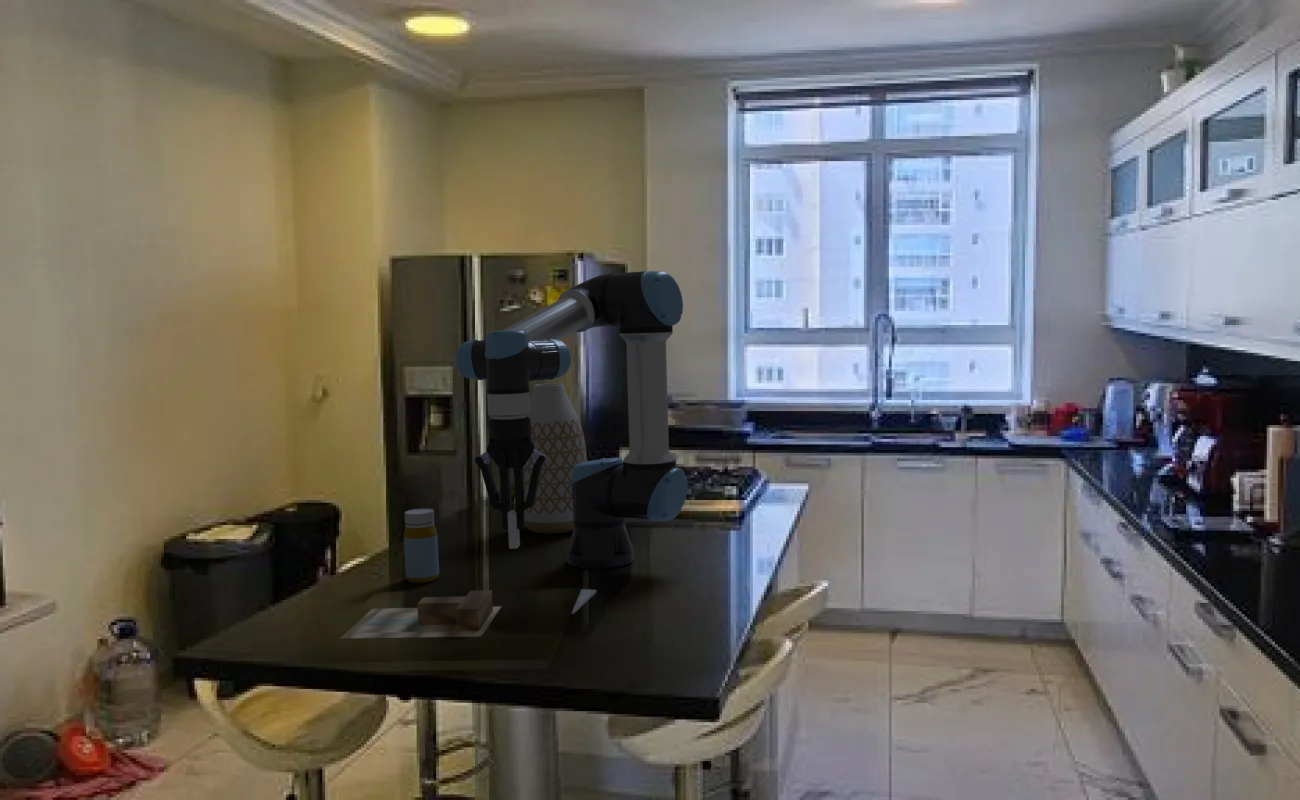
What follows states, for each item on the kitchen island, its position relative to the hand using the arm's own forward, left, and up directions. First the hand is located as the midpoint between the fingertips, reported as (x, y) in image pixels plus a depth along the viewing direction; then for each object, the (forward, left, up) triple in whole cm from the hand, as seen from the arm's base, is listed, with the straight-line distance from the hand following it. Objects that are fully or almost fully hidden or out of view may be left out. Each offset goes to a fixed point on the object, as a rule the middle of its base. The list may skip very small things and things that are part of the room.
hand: (514, 546), depth 189 cm
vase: (+6, -84, -15) cm, 85 cm away
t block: (+12, 0, -14) cm, 18 cm away
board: (+17, 0, -15) cm, 23 cm away
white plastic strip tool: (-8, -16, -16) cm, 23 cm away
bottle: (+27, -35, -15) cm, 47 cm away
